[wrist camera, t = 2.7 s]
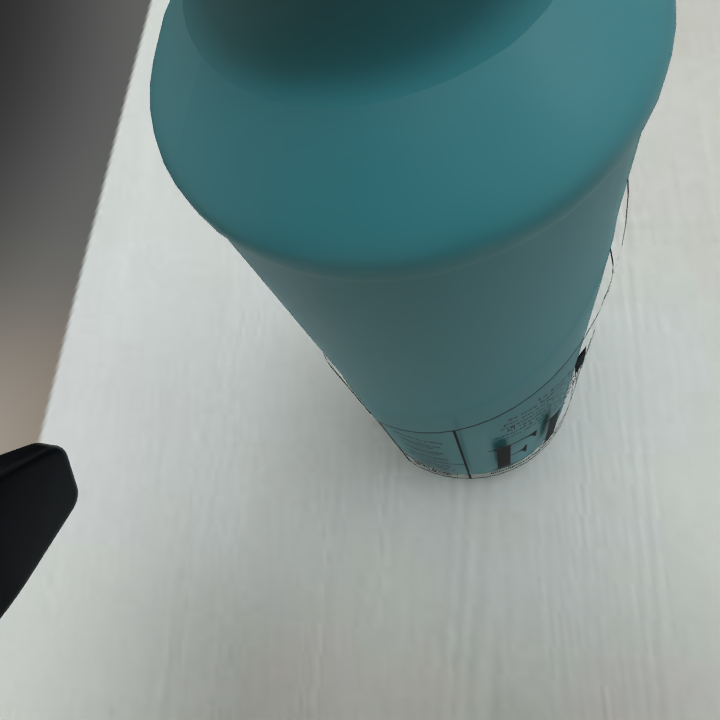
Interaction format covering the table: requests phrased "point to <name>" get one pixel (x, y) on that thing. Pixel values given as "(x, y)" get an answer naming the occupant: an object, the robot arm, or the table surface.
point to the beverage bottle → (420, 188)
